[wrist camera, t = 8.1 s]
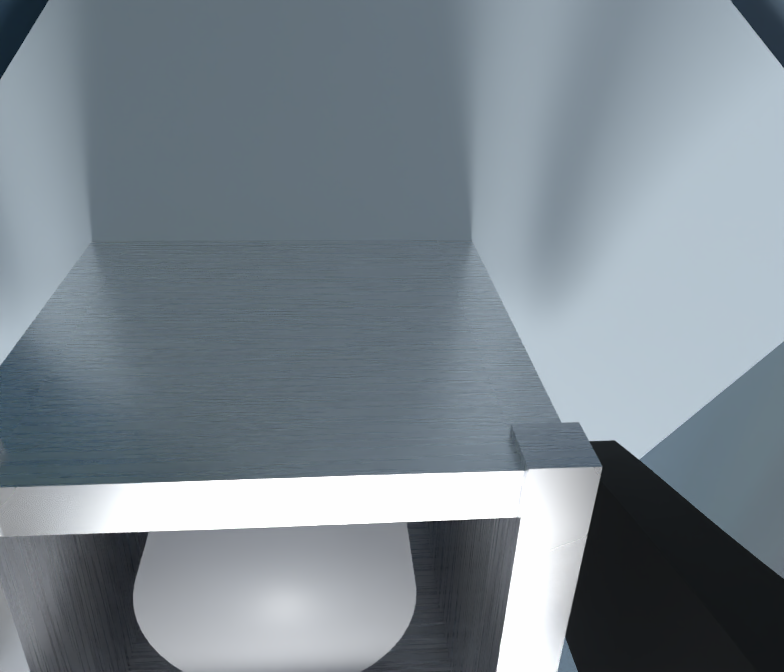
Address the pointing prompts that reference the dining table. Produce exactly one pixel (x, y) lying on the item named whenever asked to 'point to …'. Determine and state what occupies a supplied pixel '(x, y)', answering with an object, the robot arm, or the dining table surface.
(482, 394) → the white boxy piece
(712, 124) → the duct plate
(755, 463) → the dining table surface
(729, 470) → the dining table surface
